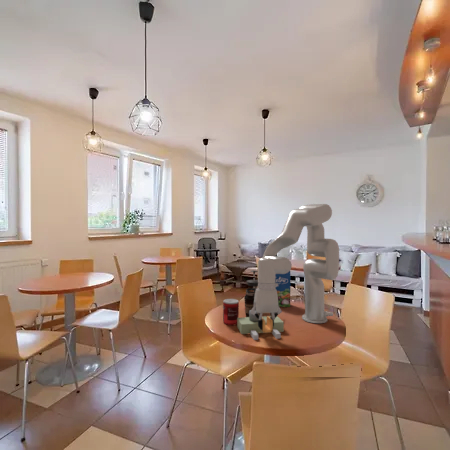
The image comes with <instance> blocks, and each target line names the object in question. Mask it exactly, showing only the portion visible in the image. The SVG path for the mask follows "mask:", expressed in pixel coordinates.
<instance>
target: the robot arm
mask: <svg viewBox="0 0 450 450" xmlns="http://www.w3.org/2000/svg"><path fill="white" fill-rule="evenodd" d="M332 215H333V209H332V207H331V206H330V205H329V204H327V203H317V204H316V203H313V204H312V203H311V204H304V205H301V206H300V207H299V208H296V209H295V208H294V209H293V210H291V211H290V212H289V214H288V216H287V219H286V221H285V223H284V225H283V228H282V230H281V233H280V235H278V236H277V237H276V238H275V239H273V240H272V241H271V242H270V243H269V244H268V245H267V247H266V248H265V250H264V252H263V255H262V257H261V258H258V261H257V266H258V267H257V271H258V272H257V280H258V286H257V288H258V289H256V291H255V297H254V307H253V308H252V310H251V311H250V312H251V314H253V315H254V316H256V317H257V318H258V327H259V328H260V329H261V330H262V328H263V321H262V317H263V315H264V314H269V316H270V318H271V319H272V320H273V326H274V320H275V318H276V317H277V316H278V317H279V315H280V314H282V313H283V311H282V309H281V308H280V307H279V306H278V295H277V290H276V287H278V283H275V274H286V273H288V272H289V271H290V272H291V269H292V266H293V265H292V261H291V260H290V259H289V258H287V257H284V256H277V255H278V253H279V252H280V251H282V250H284V249H285V248H288V247H290V246H293V245H295V244H296V243H298V242H299V239H300V237H301V235H302V231H303V229H304V227H306V230H307V231H306V232H307V237H306V240H307V241H306V251H307V253H308V255H310V256H313V257H318V258H308V259H306V260H305V261H304V263H303V274H304V284H305V285H304V286H305V287H304V294H305V295H304V314H302V315H301V319H302V320H303V321H305V322H308V323H312V324H325V323H327V322H328V317H333V316H334V312H332V311H331V312H330V311H327V310H326V311H325V284H324V281H323V280H329V281H333V280H336V279H337V278H338V275H339V269H340V266H339V265H340V248H339V244H338V242H337V241H336V240H335V239H333V238H325V226H324V225H323V224H324V223H327V221H329V220H331V218H332ZM319 257H320V258H325V259H320V258H319ZM255 310H256V312H257V313H258V314H257V313H255Z"/></svg>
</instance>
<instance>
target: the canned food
mask: <svg viewBox="0 0 450 450" xmlns="http://www.w3.org/2000/svg"><path fill="white" fill-rule="evenodd" d="M239 304H240V302H239V299H236V298H226V299H224V300H223V301H222V308H223V310H222V311H223V312H222V316H223V317H222V321H223V323H224V324H225V325H227V326H235V325H237V318H240V317H239V313H240V312H239V307H240V306H239Z"/></svg>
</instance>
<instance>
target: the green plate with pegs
mask: <svg viewBox="0 0 450 450" xmlns="http://www.w3.org/2000/svg"><path fill="white" fill-rule="evenodd" d="M250 311H251V310H250ZM250 311H249V317H246V316H245V317H239V318H237V324H236V325H237V326H236V328H237V329H238V331H239V333H240V334H241V335H246V334H247V335H248V334H249V335H250V336H251V338H252V339H253V341H256V340H257V341H258V340H259V334H264V333H263V331H262V330H261V329H260V328H259V327H258V318H257V317H256V316H254V315H253V314H251V312H250ZM255 313H257V312H256V310H255ZM257 314H258V313H257ZM267 316H269V317H270V315H267ZM267 316H266V315H265V316H262V317H263V319H264V320H265V321H266V322H265V325H267ZM284 326H285V323H284V321H283V320H282V319H281V318H280V317H279V315H278V316H277V317H276V318H275V320H274V326H273V332H267V333H266V334H269V333H271V334H272V336H273V337H274V338H275V339H276V340H277V339H282V338H281V337H282V335H281V334H282V332H283V333H284V329H285V328H284Z"/></svg>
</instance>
